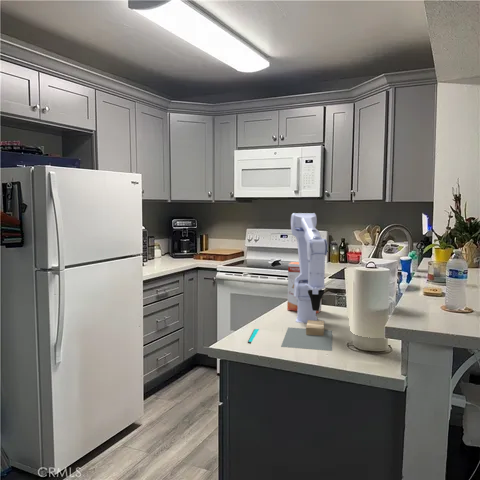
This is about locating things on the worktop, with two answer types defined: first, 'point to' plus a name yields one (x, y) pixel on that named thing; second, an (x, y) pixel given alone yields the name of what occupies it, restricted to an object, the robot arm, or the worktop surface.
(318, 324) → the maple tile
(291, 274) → the cracker box
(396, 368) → the worktop surface
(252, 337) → the smartphone
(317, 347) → the rubber mat
